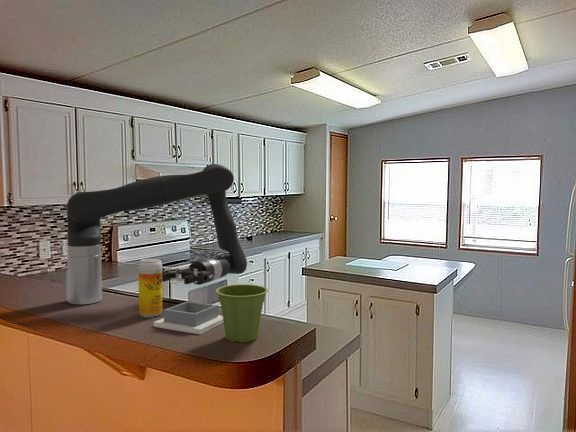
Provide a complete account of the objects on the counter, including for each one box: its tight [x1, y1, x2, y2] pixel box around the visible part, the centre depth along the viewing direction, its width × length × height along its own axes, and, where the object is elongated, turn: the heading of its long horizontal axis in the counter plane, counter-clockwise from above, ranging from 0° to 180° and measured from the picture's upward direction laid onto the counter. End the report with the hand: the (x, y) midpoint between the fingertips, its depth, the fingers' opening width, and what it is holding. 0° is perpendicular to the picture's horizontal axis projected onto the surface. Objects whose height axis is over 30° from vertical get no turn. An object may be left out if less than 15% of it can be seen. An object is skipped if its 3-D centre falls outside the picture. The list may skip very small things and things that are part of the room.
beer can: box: [138, 258, 163, 318], centre depth 119 cm, size 6×6×15 cm
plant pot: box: [215, 283, 269, 343], centre depth 101 cm, size 12×12×11 cm
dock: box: [153, 300, 224, 335], centre depth 111 cm, size 14×12×4 cm
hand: (173, 279), depth 128 cm, fingers open, 8 cm apart
